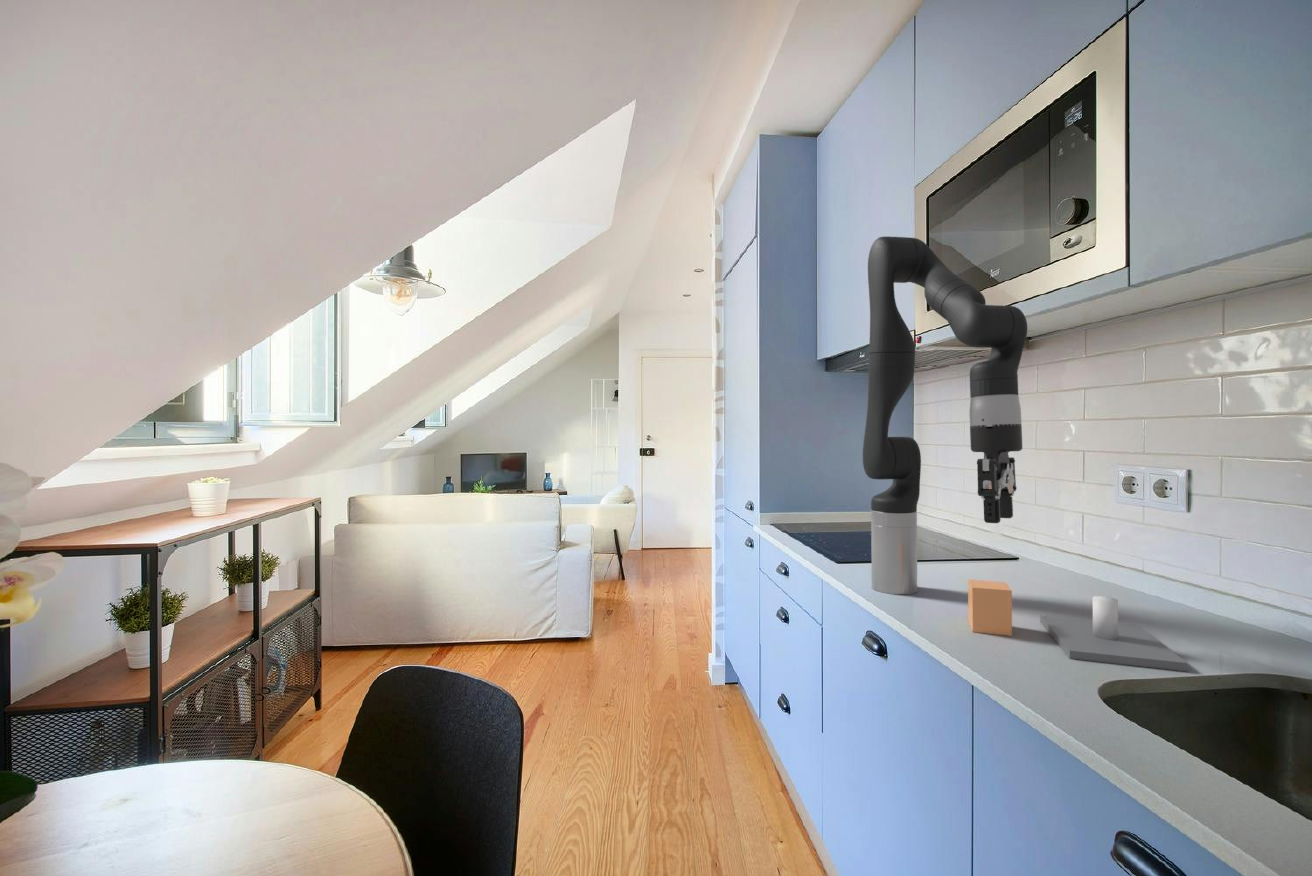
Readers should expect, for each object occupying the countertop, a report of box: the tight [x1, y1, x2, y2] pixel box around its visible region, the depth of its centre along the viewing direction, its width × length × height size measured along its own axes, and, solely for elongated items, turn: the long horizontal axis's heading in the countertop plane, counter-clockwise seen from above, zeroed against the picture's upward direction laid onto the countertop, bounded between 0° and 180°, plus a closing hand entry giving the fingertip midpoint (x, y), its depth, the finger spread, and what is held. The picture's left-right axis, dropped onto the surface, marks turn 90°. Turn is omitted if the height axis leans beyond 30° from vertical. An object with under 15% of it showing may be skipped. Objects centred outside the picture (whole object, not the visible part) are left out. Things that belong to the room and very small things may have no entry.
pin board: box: [1039, 595, 1189, 673], centre depth 93 cm, size 18×14×7 cm
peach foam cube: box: [967, 579, 1013, 637], centre depth 101 cm, size 6×6×8 cm
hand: (999, 520), depth 98 cm, fingers open, 8 cm apart
